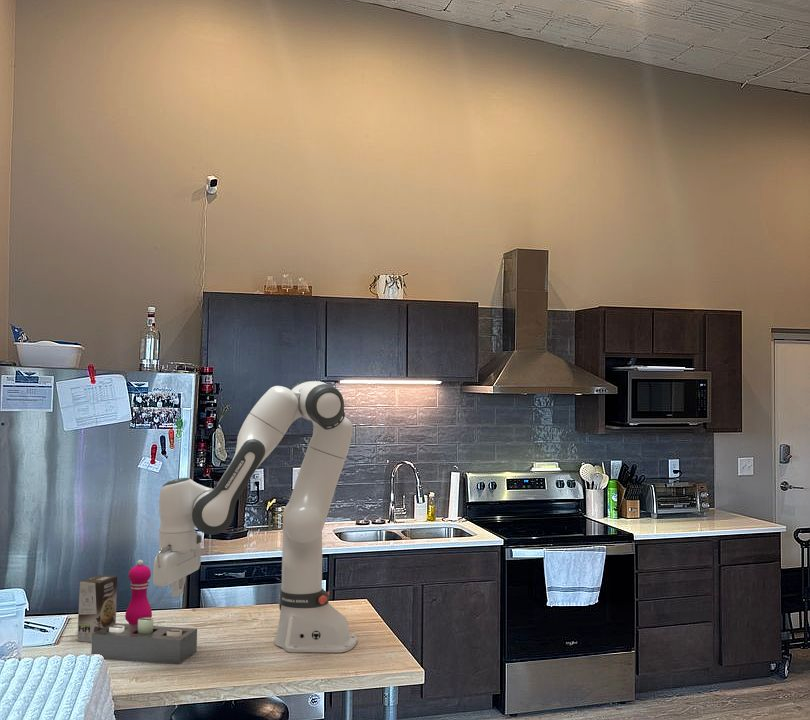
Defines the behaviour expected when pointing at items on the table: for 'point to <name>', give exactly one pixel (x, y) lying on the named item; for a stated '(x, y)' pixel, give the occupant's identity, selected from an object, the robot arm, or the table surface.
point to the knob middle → (145, 626)
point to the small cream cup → (116, 628)
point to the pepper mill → (139, 594)
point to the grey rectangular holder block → (145, 644)
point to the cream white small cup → (174, 632)
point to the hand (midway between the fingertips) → (177, 595)
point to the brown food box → (96, 605)
